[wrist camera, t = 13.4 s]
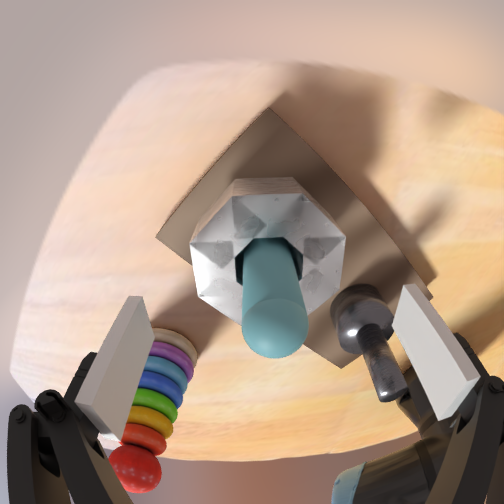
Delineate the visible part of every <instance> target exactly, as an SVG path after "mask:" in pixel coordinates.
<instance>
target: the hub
mask: <svg viewBox="0 0 504 504" xmlns="http://www.w3.org/2000/svg"><path fill="white" fill-rule="evenodd" d="M292 250H293V245H292V244H291V243H290V242H289V241H287V240H286V239H285V238H284V237H273V238H254V239H253V240H252V241H251V242H250V243H249V244H248V245H247V246H246V247H245V248H244V249H243V250H242V251H241V252H240V253H241V254H242V255H244V260H243V293H242V333H243V336H244V339H245V341H246V343H247V344H248V346H249V347H250V348H251V349H252V350H253V351H254V352H256V353H257V354H259V355H261V356H264V357H267V358H283V357H286V356H289V355H291V354H293V353H294V352H295V351H297V350H298V349H299V348H300V347H301V346H302V344H303V343H304V341H305V339H306V337H307V334H308V329H309V321H308V316H307V312H306V308H305V304H304V300H303V296H302V292H301V288H300V285H299V281H298V277H297V273H296V270H295V266H294V262H293V259H292V255H291V251H292Z"/></svg>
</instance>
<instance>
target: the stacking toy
mask: <svg viewBox="0 0 504 504" xmlns="http://www.w3.org/2000/svg"><path fill="white" fill-rule="evenodd" d="M152 330H153V333H154V336H155V338H154V341H153V344H152V347H151V350H150V352H149V355H148V358H147V361H146V364H145V367H144V370H143V372H142V375H141V378H140V381H139V384H138V387H137V390H136V393H135V397H134V400H133V403H132V406H131V409H130V412H129V416H128V419H127V422H126V425H125V429H124V432H123V435H122V439H121V442H119V441H118V442H119V443H120V444H121V445H122V446H120V447H118V448H116V449H115V450H114V451H113V452H112V453H111V455H110V456H109V459H108V460H109V462H110V464H111V466H112V468H113V469H114V471H115V473H116V475H117V477H118V479H119V480H120V482H121V484H122V486H123V487H124V489H125V490H127V491H130V492H134V493H145V492H148V491H151V490H153V489H154V488H155V487H156V486H157V485H158V484H159V482H160V479H161V474H162V472H161V466H160V464H159V461H158V459H157V458H156V457H155V456H157V455H160V454H162V453H163V452H164V451H165V449H166V441H165V439H167V438H169V437H170V436H171V435H172V433H173V425H172V423H174V422H175V420H176V419H177V415H178V413H177V409H178V408H179V407H180V406H181V404H182V401H183V394H184V393H185V391H186V389H187V384H188V383H189V382H190V380H191V379H192V377H193V373H194V368H195V366H196V363H197V352H196V350H195V348H194V346H193V345H192V344H191V342H190V341H189V340H188V339H186V338H185V337H183V336H182V335H180V334H178V333H176V332H174V331H171V330H167V329H162V328H152Z"/></svg>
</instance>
